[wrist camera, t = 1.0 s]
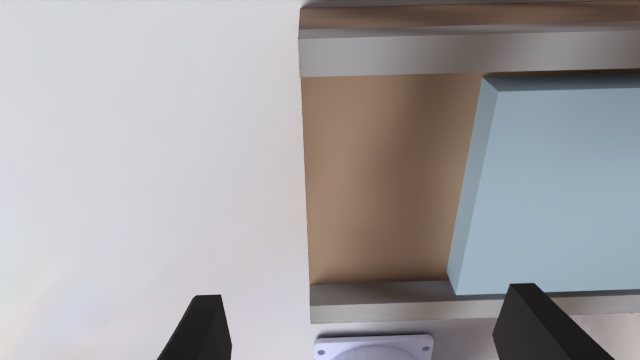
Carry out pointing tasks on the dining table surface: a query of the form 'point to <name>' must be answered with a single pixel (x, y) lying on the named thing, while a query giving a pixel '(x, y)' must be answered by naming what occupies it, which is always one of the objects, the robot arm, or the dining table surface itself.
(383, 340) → the robot arm
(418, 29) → the slide box
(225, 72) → the dining table surface
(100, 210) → the dining table surface
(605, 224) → the lid plate
